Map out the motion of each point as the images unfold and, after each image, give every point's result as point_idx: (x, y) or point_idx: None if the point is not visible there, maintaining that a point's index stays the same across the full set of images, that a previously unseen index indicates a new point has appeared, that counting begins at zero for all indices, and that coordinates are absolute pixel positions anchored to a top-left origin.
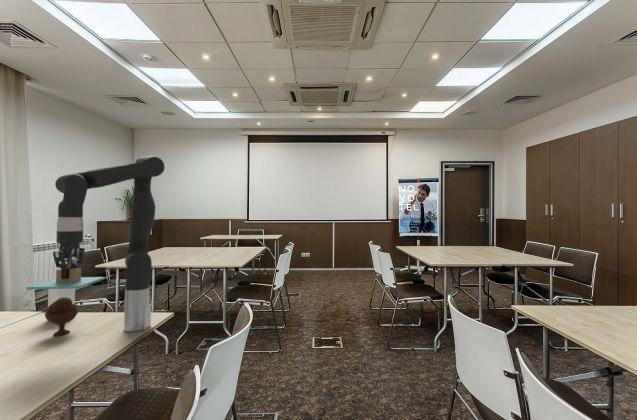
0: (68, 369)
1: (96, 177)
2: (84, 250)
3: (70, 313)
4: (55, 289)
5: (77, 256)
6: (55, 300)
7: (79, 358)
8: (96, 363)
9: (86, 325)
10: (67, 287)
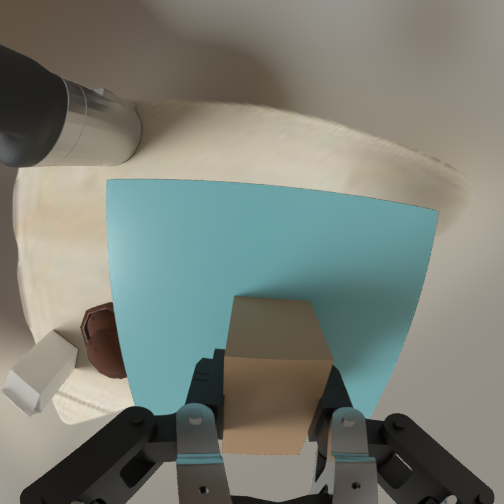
0: (366, 183)
1: None
2: (29, 487)
3: None
4: (41, 399)
5: (218, 495)
6: (54, 382)
7: (311, 186)
8: (347, 135)
9: (86, 281)
10: (421, 274)
